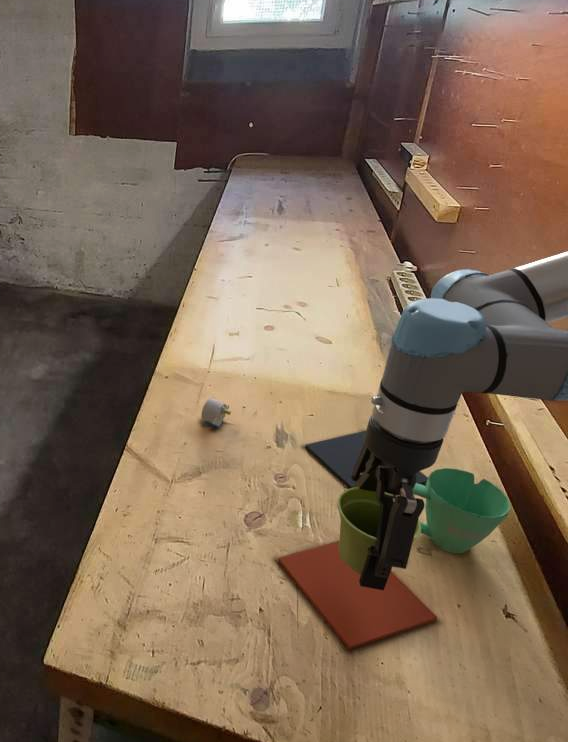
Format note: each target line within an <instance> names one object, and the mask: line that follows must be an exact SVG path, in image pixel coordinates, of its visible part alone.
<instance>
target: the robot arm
mask: <svg viewBox="0 0 568 742" xmlns="http://www.w3.org/2000/svg"><path fill="white" fill-rule="evenodd" d="M567 318H568V251H565V252H562V253H558V254H555V255H552V256H549V257H545V258H542V259H539V260H536V261H532V262H530V263H526V264H524V265H523V264H522V265H519V266H516V267H513V268H511V269H506V270H504V271H499V272H496V273H494V274H488V273H485V272H483V271H480V270H476V269H458V270H454V271H452V272H450V273H448V274H446V275H444V276H443V277H441V278H440V279H439V280H438V281H437V282H436V283H435V285H434V286H433V288H432V290H431V293H430V298H421V299H417V300H414V301H411V302H410V303H408V304H407V305H406V306H405V307H404V309H403V311H402V313H401V314H400V316H399V319H398V321H397V324H396V327H395V330H394V331H393V333H392V336H391V344H390V347H389V351H388V355H387V358H386V362H385V366H384V370H383V373H382V378H381V380H380V382H379V387H378V390H377V394H376V396H372V397H371V401H370V402H371V404H372V405H373V406H372V412H371V413H372V414H371V415H370V416H369V420H368V422H367V426H366V429H365V431H366V432H365V436H364V441H365V443H364V445H363V447H362V450H361V452H360V454H359V457H358V459H357V462H356V464H355V466H354V469H353V471H352V474H351V479H352V481H356V483H355V485H354V486H353V488H354V487H359V489H362V490H366V491H373V492H376V498H377V499H378V500H379V501H380V505H379V514H378V523H377V532H376V539H377V541H375V547H373V546H371V547H370V548H368V556H367V559H366V562H365V565H364V568H363V571H362V574H361V577H360V580H359V583H360V586H363V587H368V588H373V589H379V590H384V588H385V586H386V583H387V580H388V577H389V575H390V572H391V571H392V569H393V568H396V569H397V568H398V569H404V570H406V569H407V566H408V564H409V563H408V562H409V558H410V556H411V555H410V554H411V551H412V547H413V542H414V541H413V539H414V534H415V530H416V526H417V522H418V518H419V519H420V516H421V514H422V513H423V512H424V509H425V500H424V498H418V497H415V495H414V494H413V488H414V486H415V484H416V473H417V472H419V471H420V472H421V471H423V470H426V469H429V468H431V467H432V466H434V464H435V463H436V462H437V459H438V456H439V454H440V452H441V448H442V447H443V443H444V438H446V436H447V433H448V431H449V428H450V426H451V422H452V420H453V418H454V415H455V412H456V410H457V407H458V403H459V401H460V398H461V396H462V395H463V393H465V392H466V393H474V394H475V393H476V394H484V395H485V394H490V395H499V396H507V397H515V398H516V397H517V398H525V399H535V400H545V401H548V402H557V401H565V402H566V401H567V402H568V329H558V328H556V327H553V326H552V325H550V324H549V323H552V322H556V321H560V320H563V319H567ZM362 472H363V474H361V473H362ZM385 492H386V493H388V494H395V495H396V496H391V495H385Z"/></svg>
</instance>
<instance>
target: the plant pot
mask: <svg viewBox="0 0 568 742" xmlns="http://www.w3.org/2000/svg"><path fill="white" fill-rule="evenodd" d="M385 495H391V494H388V493H386V492H385ZM391 496H393V495H391ZM336 503H337V504H336V505H337V510H338V513H339V517H340V518H339V519H340V525H339V526H340V527H339V539H338V541H339V555H340V557H341V559H342V561H343V562H345V563H346V564H347V565H348V566H349V567H350V568H351V569H352V570H353V571H355V572H356V573H358V574H362V571H363V568H364V565H365V562H366V559H367V556H368V548H370V547H371V546H373V547H375V541H377V539H376V532H377V523H378V514H379V505H380V501H379V500H378V499H377V498H376V492H373V491H366V490H362V489H359V487H354V488H347V489H345V490H343V491H342V492H341V493H340V494H339V495H338V498H337V502H336ZM420 521H421V520H420V517H419V518H418V522H417V526H416V530H415V534H414V539H413V542H415V541H416V540H417V539H418V538H419V537H420V535H421V534H422V533H421V523H420Z"/></svg>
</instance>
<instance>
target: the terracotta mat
mask: <svg viewBox="0 0 568 742" xmlns="http://www.w3.org/2000/svg"><path fill="white" fill-rule="evenodd" d="M277 561H278V563H279V564H280V565H281V566H282V568H283V569H284V571H286V573H287V574H288V575H289V576H290V578H291V579H292V580H293V581H294V583H295V584H296V585H297V587H298V588H299V589H300V590H301V592H302V593H303V594H304V595H305V596H306V598H307V599H308V600H309V601H310V603H311V605H313V606H314V608H315V609H316V610H317V612H318V613H319V614H320V615H321V616H322V618H323V619H324V620H325V622H326V623H327V624H328V626H329V627H330V628H331V629H332V630H333V632H334V633H335V634H336V636H337V637H338V638H339V639H340V641H341V642H342V643H343V644H344V645H345V647H346V648H347V649H348V650H351V649H355V648H357V647H361V646H364V645H367V644H369V643H372V642H375V641H379V640H381V639H385V638H387V637H390V636H393V635H396V634H400V633H403V632H405V631H408V630H411V629H414V628H417V627H420V626H423V625H426V624H429V623H432V622H435V621H437V619H438V616H436V614H435V613H434V612H432V610H431V609H430V608H428V607H427V605H426V604H424V602H423V601H421V599H420V598H419V597H418V596H417V595H416V594H415V593H414V592H413V591H412V590H411V589H410V588H409V587H408V586H407V585H406V584H405V583H404V582H403V581H402V580H401V579H400V578H399V577H398V576H397V575H396V574H395V573H394V572H393V571H392V570H391V572H390V575H389V577H388V580H387V583H386V586H385V588H384V590H379V589H373V588H368V587H363V586H360V583H359V580H360V577H361V574H358V573H356V572H355V571H353V570H352V569H351V568H350V567H349V566H348V565H347V564H346V563H345V562H343V561H342V559H341V557H340V555H339V540H337V541H334V542H331V543H327V544H323V545H319V546H316V547H313V548H309V549H306V550H302V551H299V552H295V553H292V554H289V555H288V554H287V555H285V556H281V557H278V559H277Z"/></svg>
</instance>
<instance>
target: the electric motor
mask: <svg viewBox="0 0 568 742" xmlns="http://www.w3.org/2000/svg"><path fill="white" fill-rule="evenodd" d="M229 409H230V405H229V404H228V405H227V403H224V402H221V401H219V400H217V399H214V398H212V397H210V398H208V399H207V400H206V401H205V403H204V404H203V406H202V410H201V415H200V416H201V419H202V420H203V421H204V424H206V425H209V426H211V427H214V428H215V429H219V428H220V426H222V424H223V423H224V419H225V417H226V415H228V416H230V415H231V413H232V411H231V410H229Z"/></svg>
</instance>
